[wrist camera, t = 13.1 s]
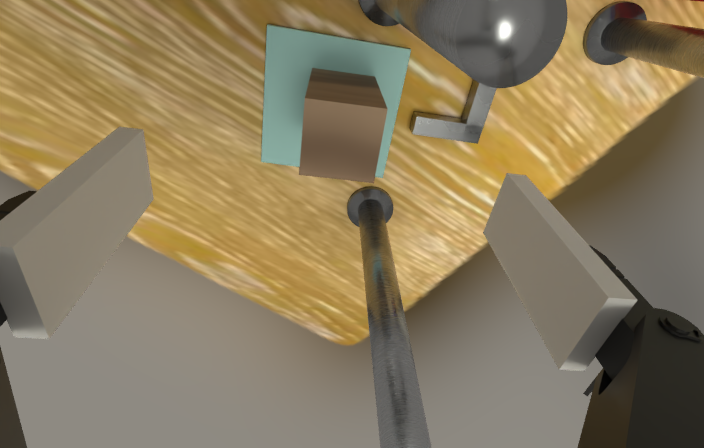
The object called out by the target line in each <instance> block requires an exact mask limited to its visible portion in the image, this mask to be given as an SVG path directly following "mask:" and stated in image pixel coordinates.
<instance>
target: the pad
mask: <svg viewBox="0 0 704 448" xmlns="http://www.w3.org/2000/svg"><path fill="white" fill-rule="evenodd" d="M410 53H411V49H409V48H403V47H398V46H392V45H386V44H380V43H374V42H369V41H363V40H357V39H351V38H345V37H339V36H334V35H328V34H322V33H316V32H310V31H304V30H299V29H293V28H287V27H281V26H275V25H270V24H268V25H267V38H266V62H265V85H264V108H263V132H262V155H261V162H266V163H274V164H281V165H289V166H296V167H300V154H301V141H302V128H303V115H304V102H305V95H306V91H307V87H308V83H309V79H310V75H311V71H312V68H317V69H325V70H332V71H339V72H346V73H353V74H360V75H367V76H375V78H376V80H377V83H378V85H379V88H380V91H381V93H382V96H383V98H384V101H385V103H386V106H387V108H388V110H387V115H386V121H385V126H384V131H383V137H382V142H381V147H380V153H379V158H378V163H377V169H376V174H375V177H380V178H383V174H384V170H385V165H386V161H387V156H388V152H389V147H390V143H391V138H392V134H393V129H394V125H395V120H396V116H397V111H398V107H399V102H400V98H401V93H402V89H403V84H404V80H405V75H406V71H407V66H408V62H409V57H410Z"/></svg>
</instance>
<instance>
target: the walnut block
mask: <svg viewBox="0 0 704 448" xmlns="http://www.w3.org/2000/svg"><path fill="white" fill-rule="evenodd" d="M387 110H388V108H387V106H386V103H385V101H384V98H383V96H382V93H381V91H380V88H379V85H378V83H377V80H376V78H375V76H367V75H360V74H353V73H346V72H339V71H332V70H325V69H317V68H312V71H311V75H310V79H309V83H308V87H307V91H306V95H305V102H304V115H303V128H302V141H301V154H300V168H299V175H306V176H315V177H324V178H333V179H342V180H351V181H360V182H369V183H374V179H375V174H376V169H377V163H378V158H379V153H380V147H381V142H382V137H383V131H384V126H385V121H386V115H387Z"/></svg>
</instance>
